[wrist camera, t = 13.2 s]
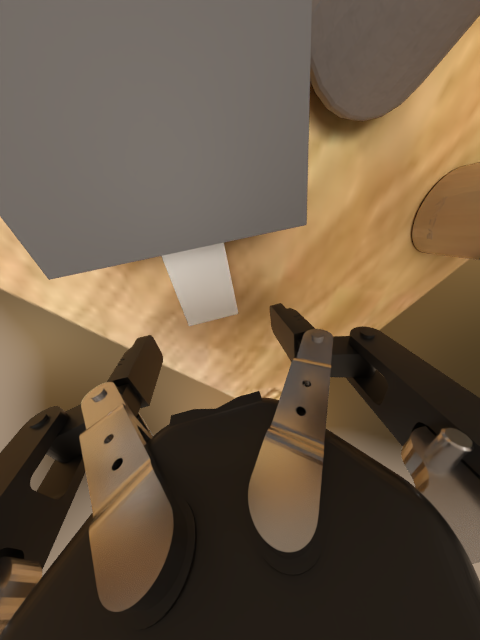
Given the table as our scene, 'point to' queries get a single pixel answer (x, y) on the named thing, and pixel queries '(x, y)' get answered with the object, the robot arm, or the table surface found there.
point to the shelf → (151, 125)
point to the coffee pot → (380, 50)
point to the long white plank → (202, 283)
